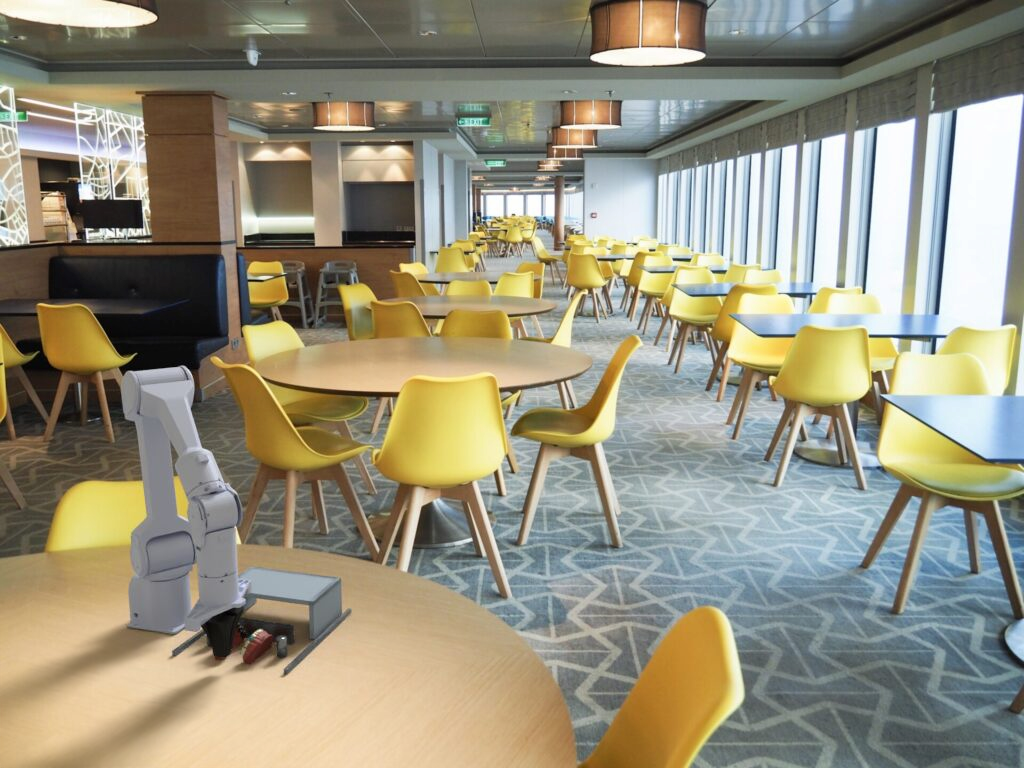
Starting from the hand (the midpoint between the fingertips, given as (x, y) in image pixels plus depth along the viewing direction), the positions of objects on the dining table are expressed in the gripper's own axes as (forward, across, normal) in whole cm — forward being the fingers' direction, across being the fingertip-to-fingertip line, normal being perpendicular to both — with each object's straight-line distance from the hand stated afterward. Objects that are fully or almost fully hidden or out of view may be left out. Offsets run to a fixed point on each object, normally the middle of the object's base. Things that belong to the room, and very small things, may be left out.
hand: (222, 655), depth 132 cm
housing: (+2, +18, 0) cm, 18 cm away
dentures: (+3, +6, 0) cm, 6 cm away
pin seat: (+2, +13, 0) cm, 13 cm away
